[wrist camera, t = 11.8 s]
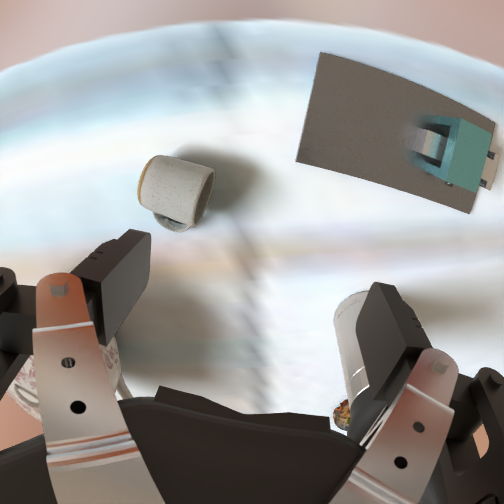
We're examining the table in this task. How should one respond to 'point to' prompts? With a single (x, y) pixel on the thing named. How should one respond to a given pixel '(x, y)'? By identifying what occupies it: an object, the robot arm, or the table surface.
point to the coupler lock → (462, 154)
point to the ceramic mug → (175, 191)
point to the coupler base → (384, 130)
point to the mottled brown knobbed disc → (342, 415)
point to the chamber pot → (26, 389)
